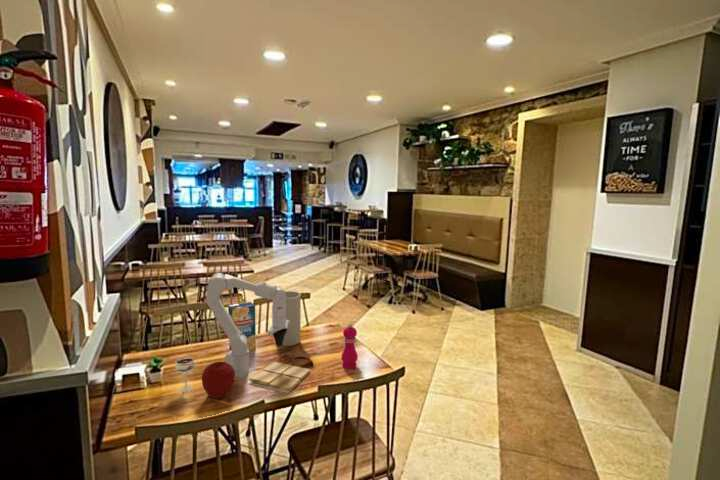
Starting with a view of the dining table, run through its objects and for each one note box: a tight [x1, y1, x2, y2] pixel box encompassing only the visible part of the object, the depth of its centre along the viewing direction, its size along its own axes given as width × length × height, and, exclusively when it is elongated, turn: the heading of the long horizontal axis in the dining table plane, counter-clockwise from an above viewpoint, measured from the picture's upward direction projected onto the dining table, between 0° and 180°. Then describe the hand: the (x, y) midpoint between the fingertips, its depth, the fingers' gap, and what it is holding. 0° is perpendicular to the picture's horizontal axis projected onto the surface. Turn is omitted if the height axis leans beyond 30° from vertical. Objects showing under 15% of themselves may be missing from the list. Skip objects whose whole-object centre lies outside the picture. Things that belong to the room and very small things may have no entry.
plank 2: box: [270, 375, 301, 392], centre depth 153 cm, size 9×8×1 cm
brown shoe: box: [285, 345, 314, 368], centre depth 175 cm, size 18×7×7 cm, turn 28°
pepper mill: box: [341, 323, 358, 370], centre depth 169 cm, size 7×7×20 cm
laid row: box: [262, 361, 311, 382], centre depth 163 cm, size 18×8×1 cm, turn 70°
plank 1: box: [249, 370, 280, 385], centre depth 156 cm, size 9×8×1 cm
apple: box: [201, 361, 236, 400], centre depth 144 cm, size 12×12×13 cm
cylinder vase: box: [281, 290, 302, 347], centre depth 194 cm, size 12×12×25 cm
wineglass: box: [175, 355, 196, 393], centre depth 148 cm, size 7×7×12 cm
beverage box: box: [227, 301, 257, 351], centre depth 185 cm, size 7×11×22 cm, turn 124°
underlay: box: [246, 369, 312, 394], centre depth 159 cm, size 20×19×1 cm
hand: (279, 345), depth 166 cm, fingers closed
